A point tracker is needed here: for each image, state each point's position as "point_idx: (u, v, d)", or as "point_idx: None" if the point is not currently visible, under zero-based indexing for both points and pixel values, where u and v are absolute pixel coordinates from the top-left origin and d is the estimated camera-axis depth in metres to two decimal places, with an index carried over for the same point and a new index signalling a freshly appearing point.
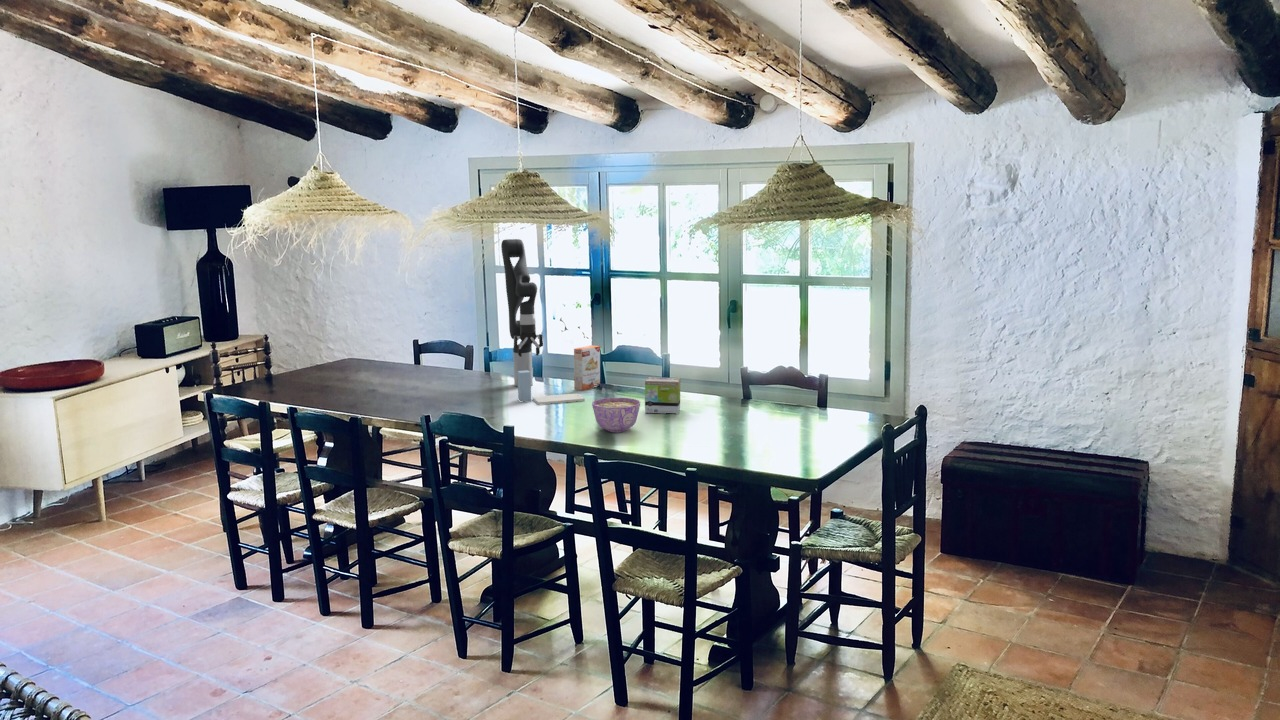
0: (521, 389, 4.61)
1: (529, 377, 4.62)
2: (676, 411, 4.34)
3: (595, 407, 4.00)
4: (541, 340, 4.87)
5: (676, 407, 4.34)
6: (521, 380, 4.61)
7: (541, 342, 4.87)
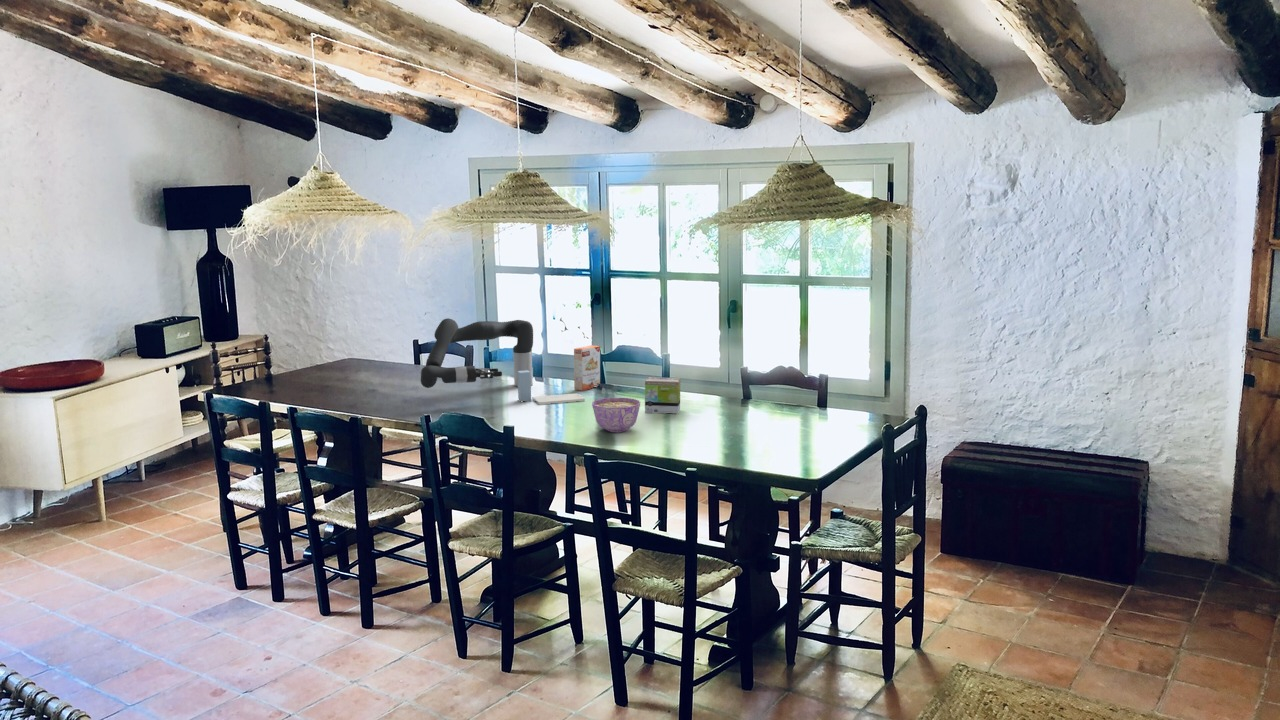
0: (521, 389, 4.61)
1: (529, 377, 4.62)
2: (676, 411, 4.34)
3: (595, 407, 4.00)
4: (481, 368, 4.62)
5: (676, 407, 4.34)
6: (521, 380, 4.61)
7: (483, 368, 4.63)
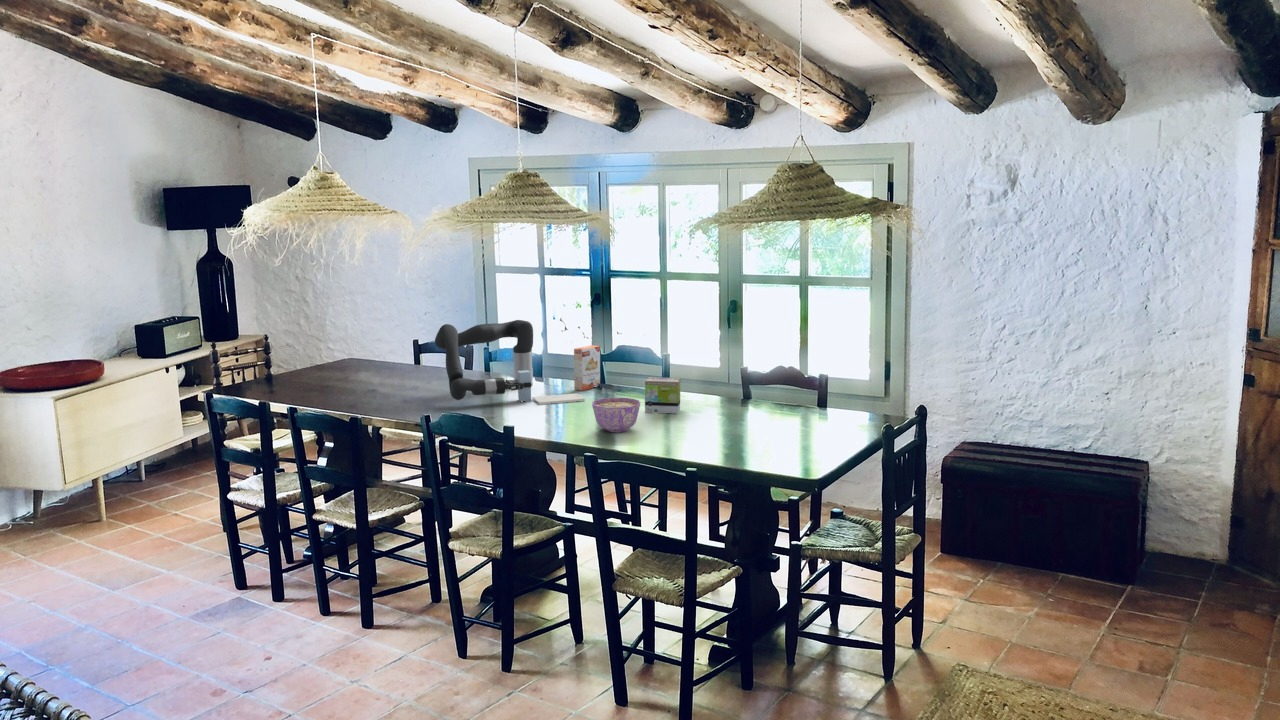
0: (521, 389, 4.61)
1: (529, 377, 4.62)
2: (676, 411, 4.34)
3: (595, 407, 4.00)
4: None
5: (676, 407, 4.34)
6: (521, 380, 4.61)
7: None
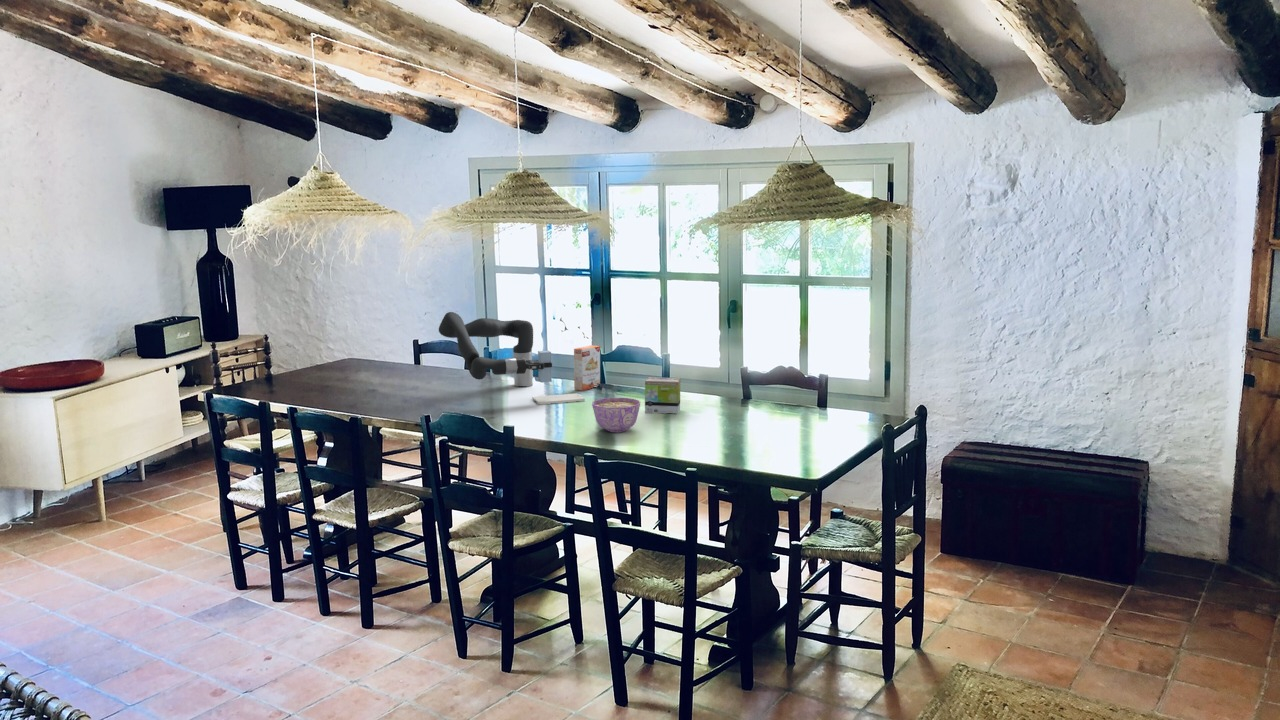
0: (541, 369, 4.58)
1: (550, 357, 4.58)
2: (676, 411, 4.34)
3: (595, 407, 4.00)
4: (532, 360, 4.64)
5: (676, 407, 4.34)
6: (542, 360, 4.57)
7: None
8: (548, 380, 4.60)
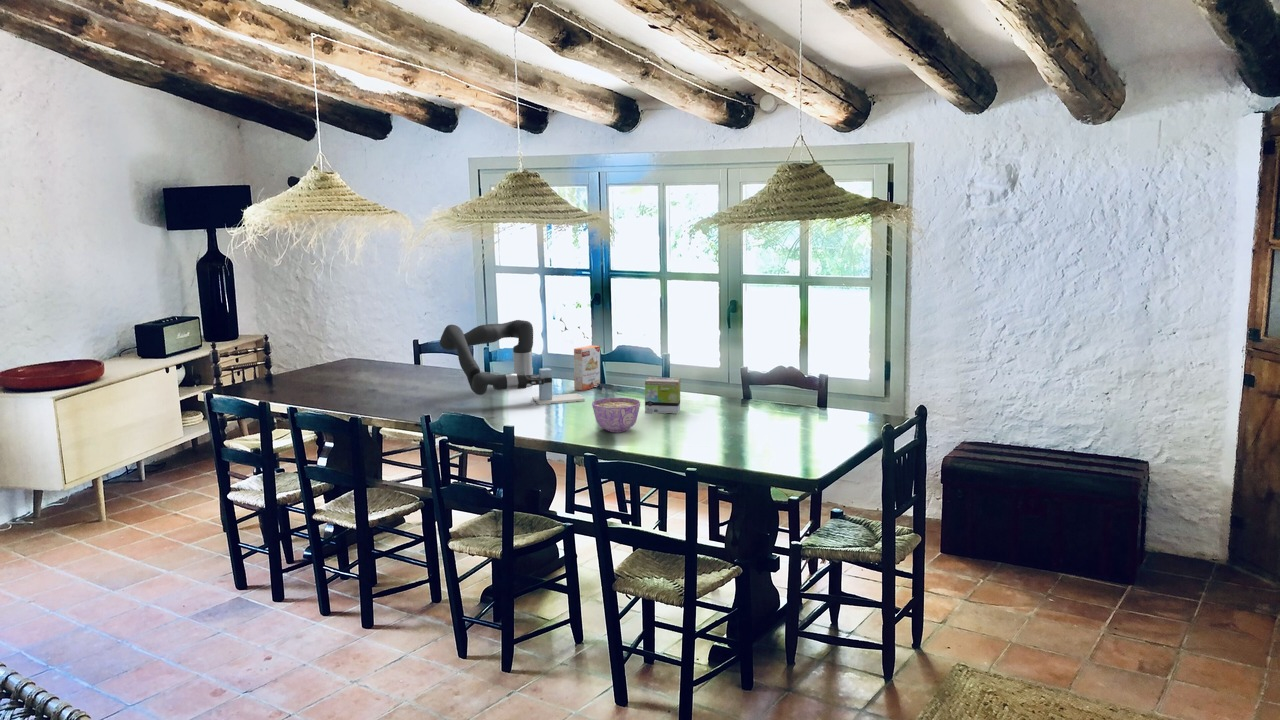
0: (542, 387, 4.60)
1: (550, 375, 4.60)
2: (676, 411, 4.34)
3: (595, 407, 4.00)
4: None
5: (676, 407, 4.34)
6: None
7: None
8: (549, 398, 4.61)
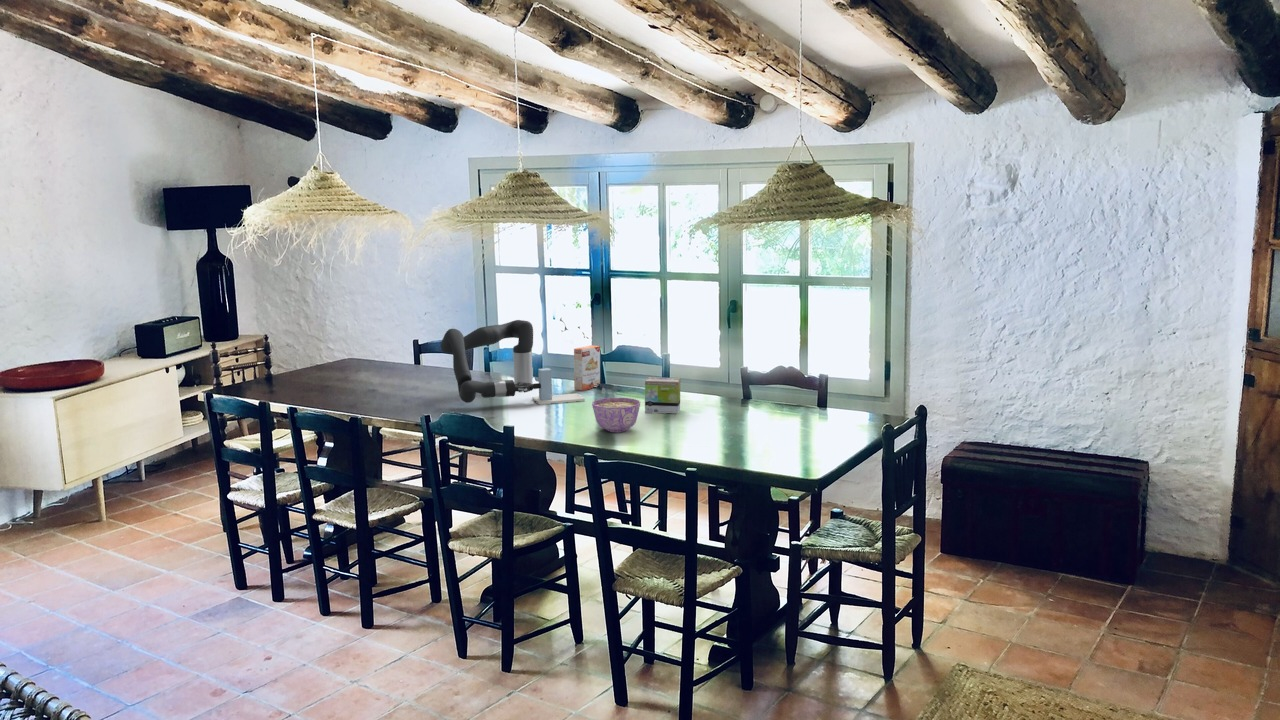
0: (542, 387, 4.60)
1: (550, 375, 4.60)
2: (676, 411, 4.34)
3: (595, 407, 4.00)
4: (523, 382, 4.62)
5: (676, 407, 4.34)
6: (542, 378, 4.59)
7: None
8: (548, 398, 4.61)
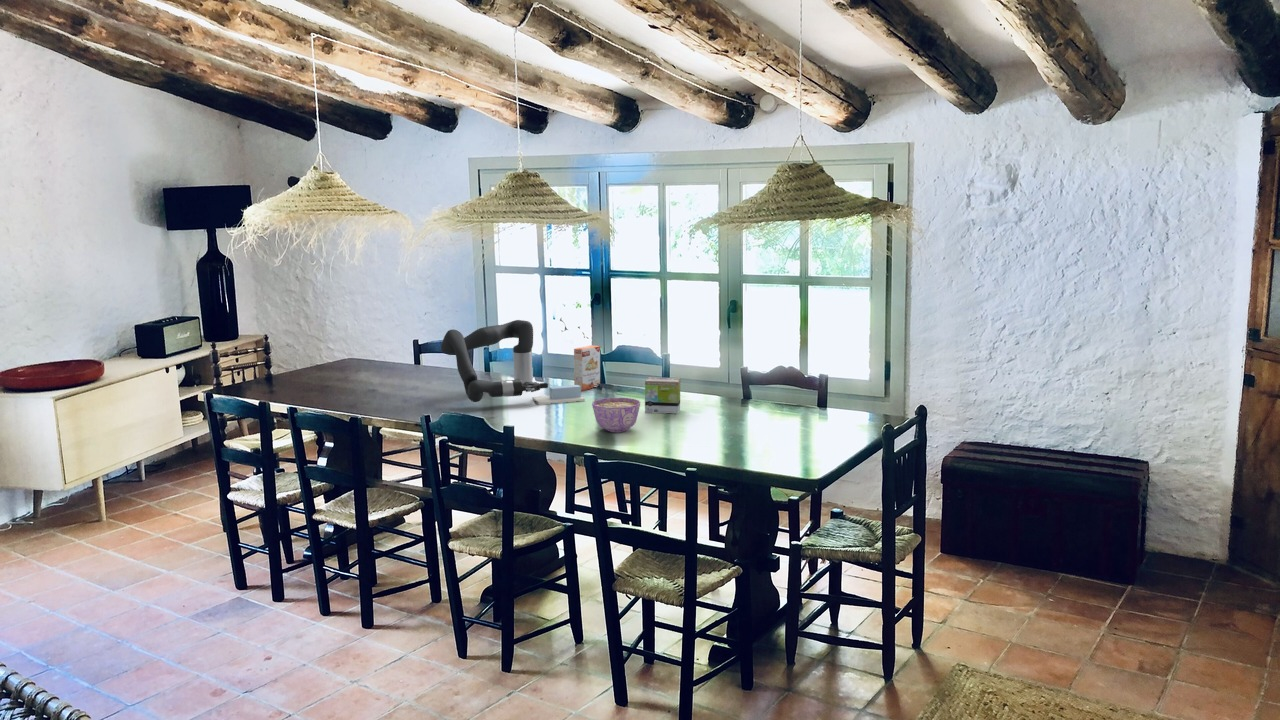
0: (564, 389, 4.63)
1: (575, 396, 4.66)
2: (676, 411, 4.34)
3: (595, 407, 4.00)
4: None
5: (676, 407, 4.34)
6: (573, 388, 4.65)
7: None
8: (553, 396, 4.62)
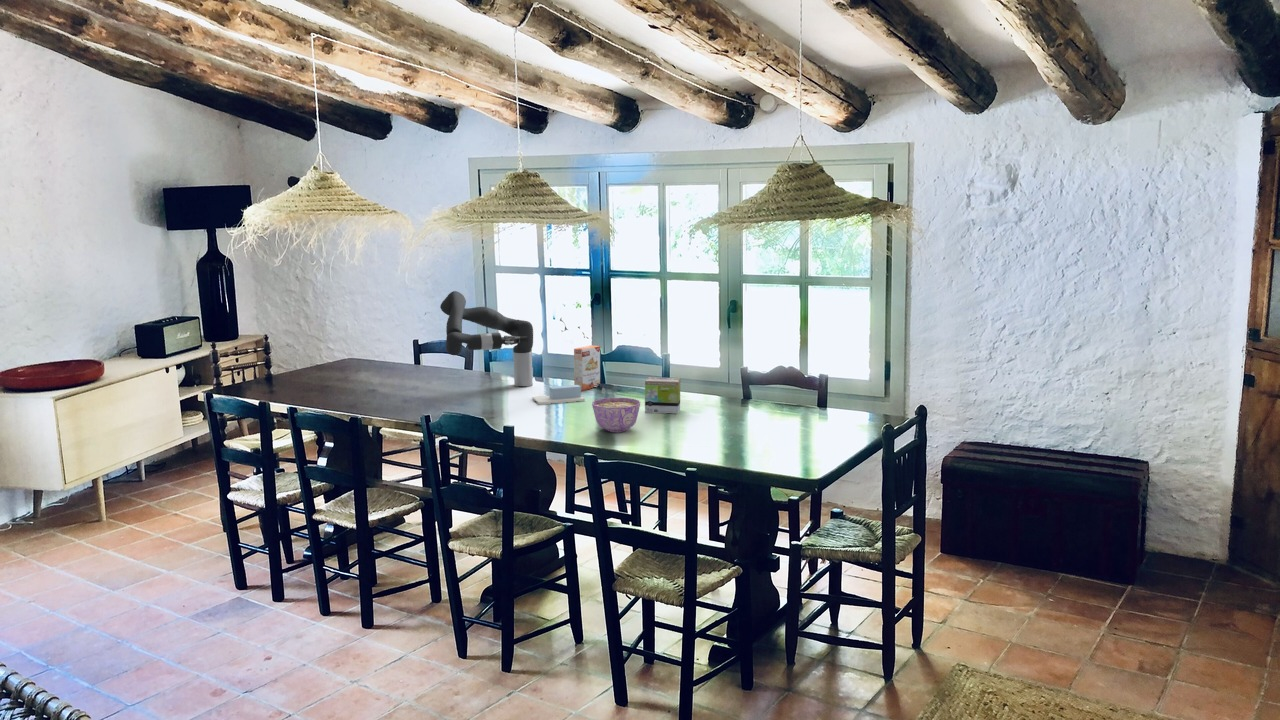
0: (564, 389, 4.63)
1: (575, 396, 4.66)
2: (676, 411, 4.34)
3: (595, 407, 4.00)
4: None
5: (676, 407, 4.34)
6: (573, 388, 4.65)
7: None
8: (553, 396, 4.62)
